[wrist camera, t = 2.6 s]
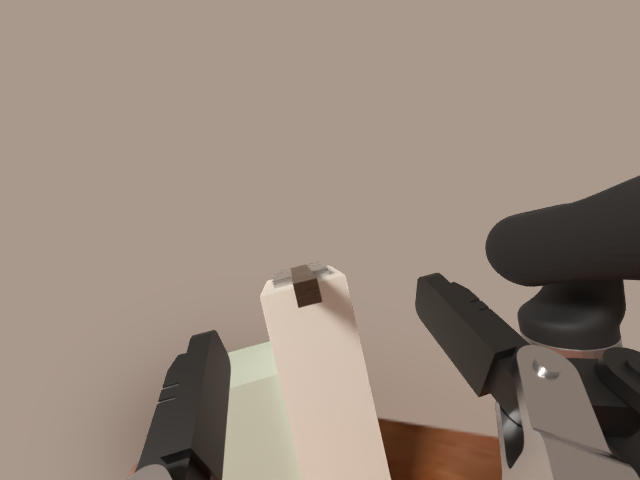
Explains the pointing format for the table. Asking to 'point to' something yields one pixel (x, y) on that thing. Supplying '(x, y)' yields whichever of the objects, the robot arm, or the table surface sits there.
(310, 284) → the turner
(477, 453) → the table surface
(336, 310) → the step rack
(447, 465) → the table surface
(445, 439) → the table surface
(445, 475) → the table surface
